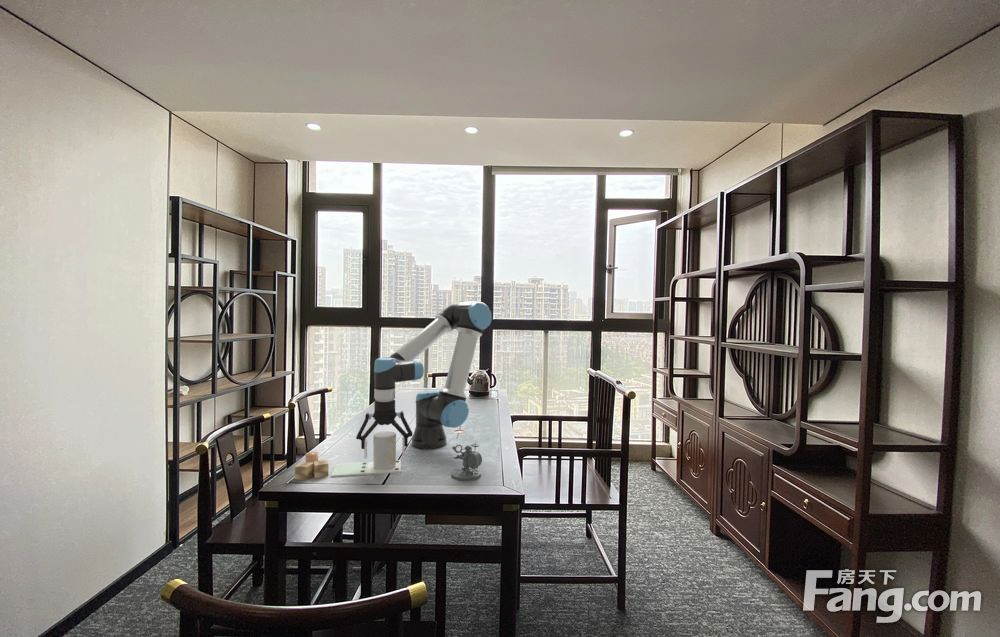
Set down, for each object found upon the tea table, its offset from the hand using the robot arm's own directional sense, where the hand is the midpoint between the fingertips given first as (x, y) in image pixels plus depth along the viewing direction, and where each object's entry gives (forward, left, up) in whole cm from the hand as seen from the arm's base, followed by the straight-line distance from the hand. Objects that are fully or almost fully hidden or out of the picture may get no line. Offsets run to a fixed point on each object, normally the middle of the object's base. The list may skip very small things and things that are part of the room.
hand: (384, 456), depth 168 cm
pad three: (+12, 0, -4) cm, 13 cm away
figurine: (-29, +13, -5) cm, 32 cm away
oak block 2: (+22, +3, -4) cm, 23 cm away
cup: (0, 0, -4) cm, 4 cm away
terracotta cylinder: (+26, -3, -4) cm, 27 cm away
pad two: (0, 0, -4) cm, 4 cm away
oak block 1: (+27, +4, -4) cm, 28 cm away
